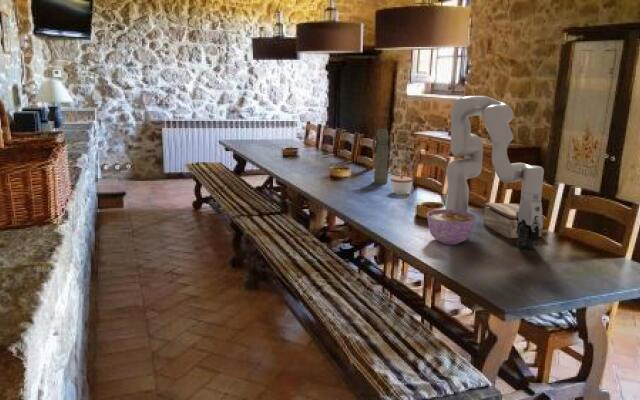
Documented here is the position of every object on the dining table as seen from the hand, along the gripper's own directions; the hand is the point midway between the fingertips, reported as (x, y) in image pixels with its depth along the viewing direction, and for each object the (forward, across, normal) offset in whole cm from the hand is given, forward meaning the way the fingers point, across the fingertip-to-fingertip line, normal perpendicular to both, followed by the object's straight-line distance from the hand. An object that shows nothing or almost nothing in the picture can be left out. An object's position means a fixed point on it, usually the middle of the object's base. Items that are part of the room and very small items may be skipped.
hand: (527, 237), depth 205 cm
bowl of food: (+4, +12, +28) cm, 31 cm away
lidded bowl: (+4, +102, +19) cm, 104 cm away
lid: (-4, +23, -7) cm, 25 cm away
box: (+4, +23, -7) cm, 25 cm away
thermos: (+3, +134, +22) cm, 136 cm away
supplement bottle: (+4, 0, 0) cm, 5 cm away
